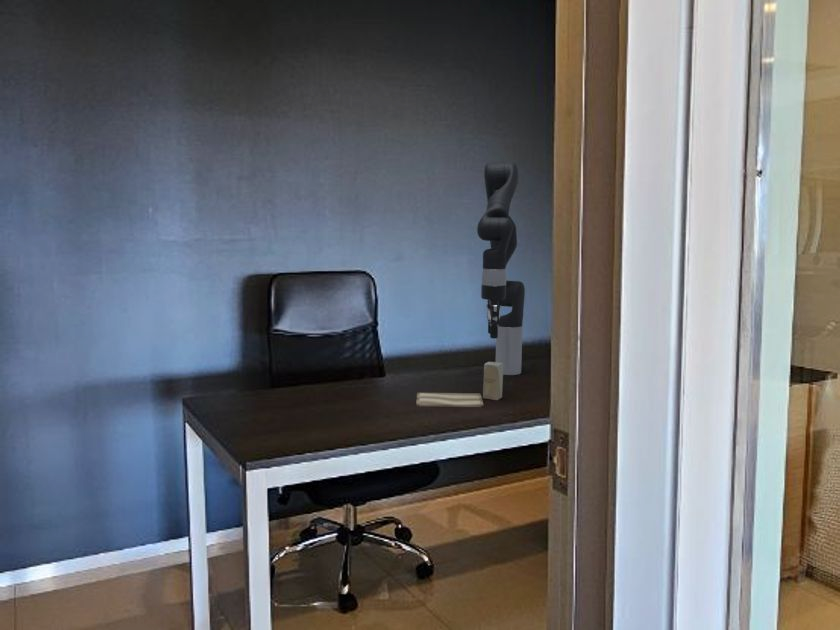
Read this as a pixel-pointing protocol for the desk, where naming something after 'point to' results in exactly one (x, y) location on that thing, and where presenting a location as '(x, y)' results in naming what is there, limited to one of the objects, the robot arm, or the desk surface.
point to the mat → (449, 399)
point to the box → (493, 380)
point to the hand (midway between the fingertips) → (492, 335)
